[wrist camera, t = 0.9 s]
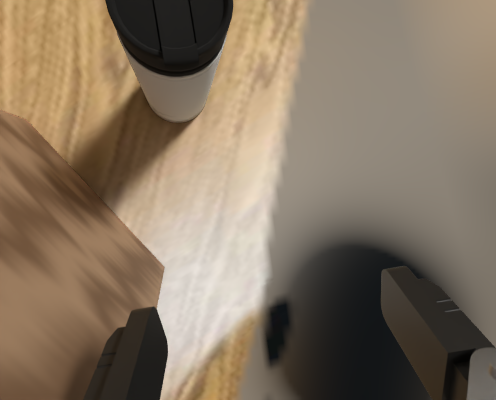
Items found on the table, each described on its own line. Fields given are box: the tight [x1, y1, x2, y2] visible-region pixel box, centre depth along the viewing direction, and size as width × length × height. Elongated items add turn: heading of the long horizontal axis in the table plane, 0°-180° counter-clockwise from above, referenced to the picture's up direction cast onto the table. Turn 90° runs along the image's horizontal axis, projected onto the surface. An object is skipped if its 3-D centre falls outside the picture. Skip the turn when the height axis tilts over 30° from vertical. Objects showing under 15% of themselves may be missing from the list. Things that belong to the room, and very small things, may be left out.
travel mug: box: [105, 0, 233, 123], centre depth 26 cm, size 6×7×20 cm
